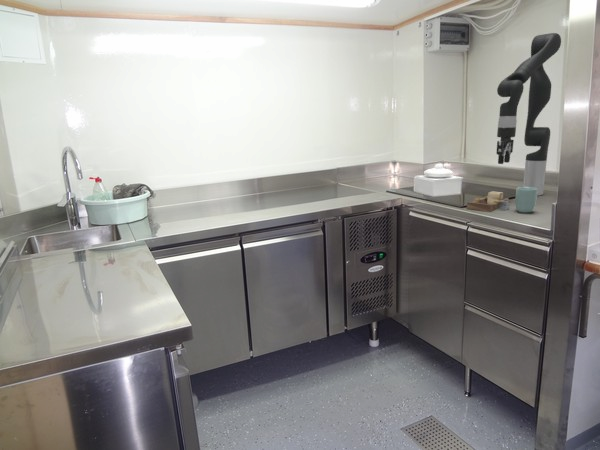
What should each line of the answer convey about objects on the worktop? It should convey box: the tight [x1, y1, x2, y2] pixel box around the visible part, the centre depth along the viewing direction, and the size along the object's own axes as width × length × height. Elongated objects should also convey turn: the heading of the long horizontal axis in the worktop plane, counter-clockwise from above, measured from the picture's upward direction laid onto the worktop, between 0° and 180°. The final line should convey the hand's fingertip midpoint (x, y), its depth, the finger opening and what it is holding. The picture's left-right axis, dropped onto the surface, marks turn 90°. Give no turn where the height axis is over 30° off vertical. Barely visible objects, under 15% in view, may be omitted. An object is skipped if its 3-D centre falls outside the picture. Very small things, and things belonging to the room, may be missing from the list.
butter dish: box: [413, 163, 464, 198], centre depth 228 cm, size 18×18×16 cm
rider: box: [486, 191, 504, 204], centre depth 197 cm, size 5×5×5 cm
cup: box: [514, 186, 538, 214], centre depth 179 cm, size 8×8×10 cm
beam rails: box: [466, 195, 510, 213], centre depth 192 cm, size 22×10×3 cm, turn 136°
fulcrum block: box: [497, 200, 510, 211], centre depth 186 cm, size 4×3×4 cm
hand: (503, 163), depth 198 cm, fingers open, 7 cm apart
